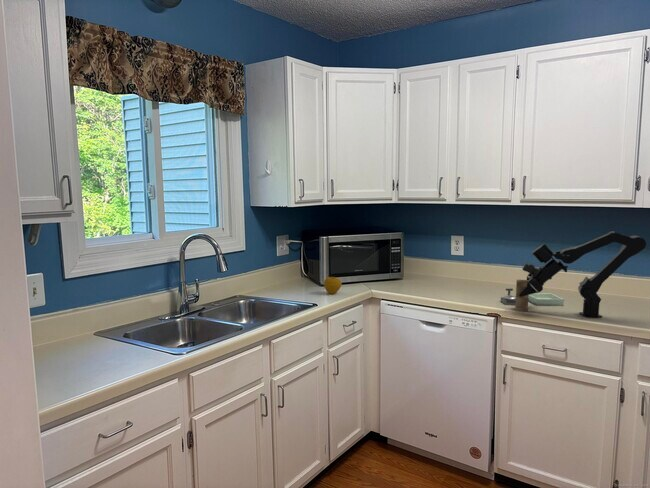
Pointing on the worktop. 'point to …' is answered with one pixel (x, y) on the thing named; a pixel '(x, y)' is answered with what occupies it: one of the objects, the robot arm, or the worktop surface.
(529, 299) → the tray
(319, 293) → the worktop surface
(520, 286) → the block
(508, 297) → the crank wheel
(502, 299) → the crank base
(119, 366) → the worktop surface
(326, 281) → the apple
